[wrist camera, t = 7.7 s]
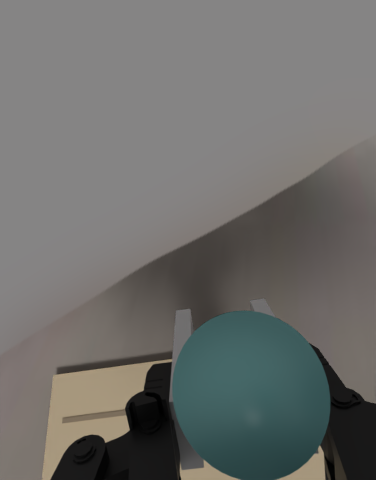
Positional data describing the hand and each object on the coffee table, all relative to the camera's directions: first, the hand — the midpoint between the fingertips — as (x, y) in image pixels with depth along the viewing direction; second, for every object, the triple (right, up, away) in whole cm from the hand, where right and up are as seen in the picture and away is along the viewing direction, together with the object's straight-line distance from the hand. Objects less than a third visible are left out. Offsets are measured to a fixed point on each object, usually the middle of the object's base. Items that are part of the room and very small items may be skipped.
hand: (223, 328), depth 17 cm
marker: (+1, -5, +1) cm, 6 cm away
